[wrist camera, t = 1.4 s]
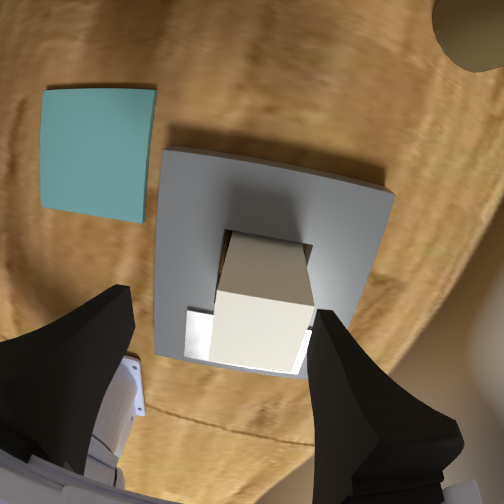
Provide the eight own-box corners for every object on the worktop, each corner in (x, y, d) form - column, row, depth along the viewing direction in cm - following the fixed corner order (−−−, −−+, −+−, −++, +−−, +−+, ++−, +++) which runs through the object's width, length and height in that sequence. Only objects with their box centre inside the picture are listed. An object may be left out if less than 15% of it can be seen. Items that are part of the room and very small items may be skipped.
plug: (286, 293, 24) (291, 372, 16) (225, 282, 24) (207, 360, 16) (300, 237, 22) (314, 306, 14) (234, 225, 22) (216, 290, 14)
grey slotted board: (321, 364, 27) (324, 383, 25) (161, 338, 26) (153, 356, 24) (384, 186, 20) (397, 195, 18) (172, 145, 19) (161, 150, 17)
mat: (144, 221, 22) (142, 223, 21) (44, 204, 21) (41, 206, 21) (157, 90, 18) (154, 89, 17) (47, 90, 17) (43, 90, 17)
